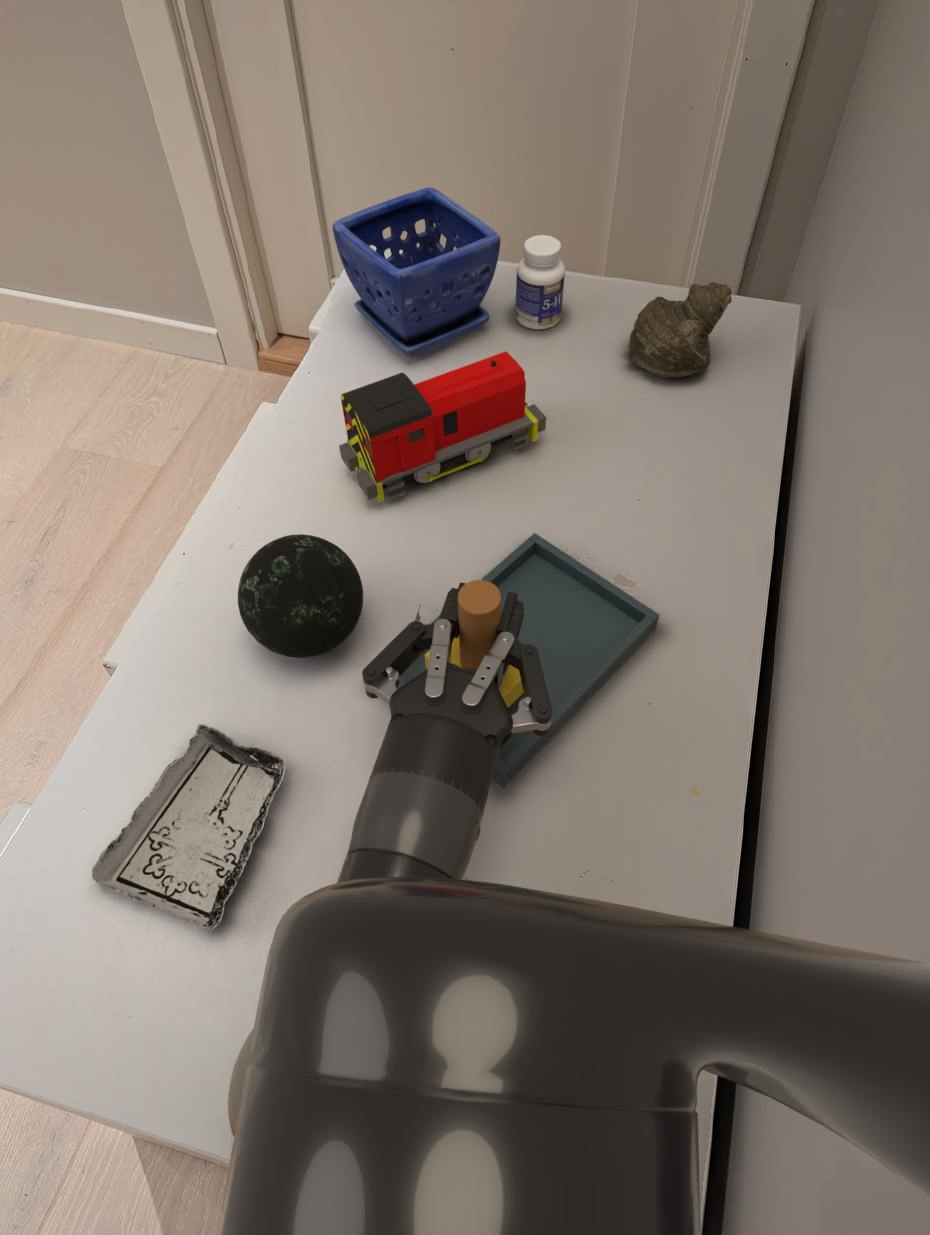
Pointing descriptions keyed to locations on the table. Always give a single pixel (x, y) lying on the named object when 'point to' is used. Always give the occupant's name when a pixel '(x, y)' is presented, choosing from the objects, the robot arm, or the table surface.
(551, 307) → the pill bottle
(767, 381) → the table surface
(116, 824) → the table surface
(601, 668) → the tray
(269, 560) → the decorative stone
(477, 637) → the stamp with peg handle
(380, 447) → the toy train
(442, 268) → the flower pot
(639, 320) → the seashell
